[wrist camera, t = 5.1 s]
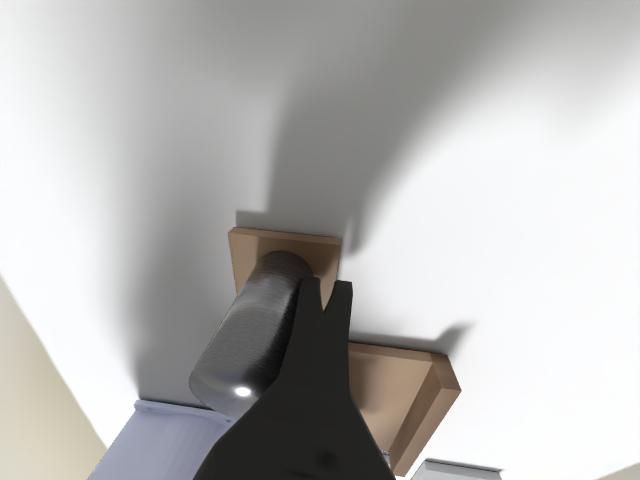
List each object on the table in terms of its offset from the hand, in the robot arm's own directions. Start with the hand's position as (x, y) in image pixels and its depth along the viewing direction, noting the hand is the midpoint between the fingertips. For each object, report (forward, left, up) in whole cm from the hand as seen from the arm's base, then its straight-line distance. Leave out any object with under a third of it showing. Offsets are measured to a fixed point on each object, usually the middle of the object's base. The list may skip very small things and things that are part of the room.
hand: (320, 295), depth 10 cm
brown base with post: (+1, -8, -2) cm, 8 cm away
